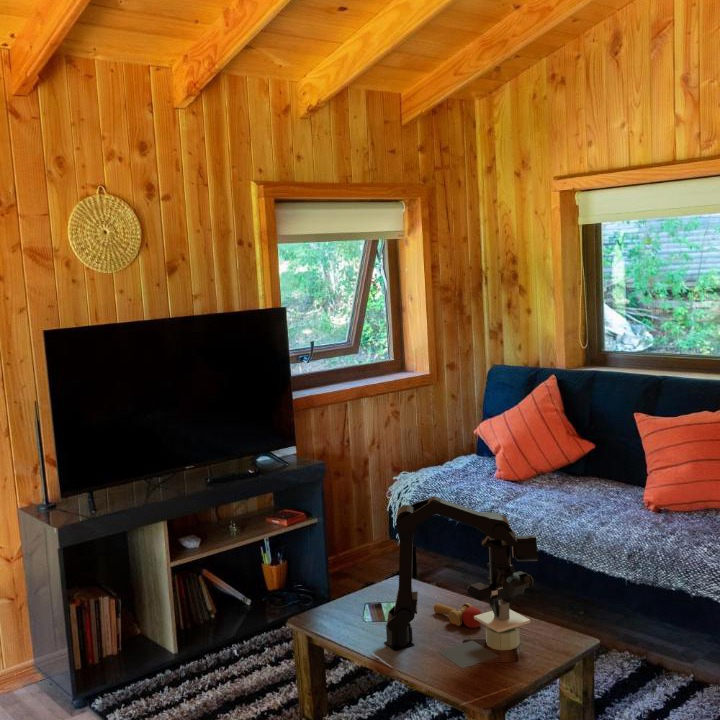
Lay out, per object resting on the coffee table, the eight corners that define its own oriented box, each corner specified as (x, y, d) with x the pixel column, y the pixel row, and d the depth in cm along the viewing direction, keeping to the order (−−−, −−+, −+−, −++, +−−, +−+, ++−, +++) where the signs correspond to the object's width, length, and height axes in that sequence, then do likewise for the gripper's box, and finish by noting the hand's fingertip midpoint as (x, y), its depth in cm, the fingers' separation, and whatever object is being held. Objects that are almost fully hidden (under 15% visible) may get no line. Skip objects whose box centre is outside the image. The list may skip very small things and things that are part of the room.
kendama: (427, 621, 272) (470, 631, 258) (427, 600, 273) (469, 608, 259) (445, 618, 277) (488, 627, 263) (445, 597, 278) (488, 605, 263)
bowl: (500, 654, 245) (499, 636, 245) (480, 642, 253) (479, 625, 252) (526, 645, 250) (525, 628, 249) (505, 634, 257) (505, 617, 257)
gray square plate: (462, 669, 238) (462, 668, 238) (437, 653, 248) (436, 651, 248) (499, 657, 243) (498, 656, 243) (472, 641, 254) (472, 640, 254)
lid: (498, 632, 243) (497, 613, 242) (474, 618, 253) (473, 600, 252) (530, 622, 248) (529, 604, 248) (505, 609, 258) (504, 591, 257)
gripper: (490, 577, 237) (492, 633, 239) (545, 562, 246) (547, 616, 248) (465, 565, 246) (467, 619, 248) (519, 550, 255) (521, 603, 257)
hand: (501, 615), depth 250 cm, fingers closed on lid, 3 cm apart
